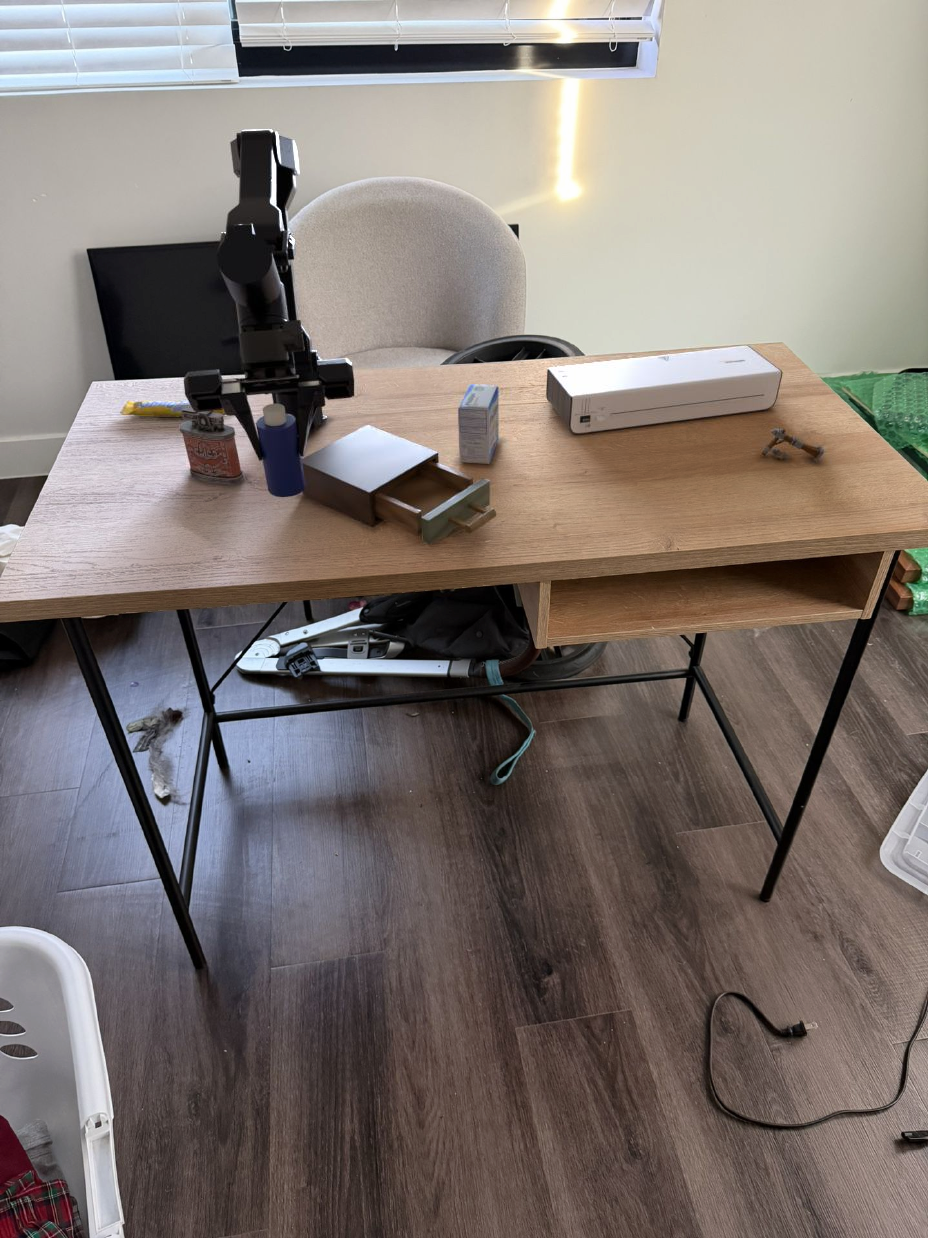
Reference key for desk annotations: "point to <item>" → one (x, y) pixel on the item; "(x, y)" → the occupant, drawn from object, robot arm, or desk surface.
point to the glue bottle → (280, 452)
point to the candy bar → (157, 408)
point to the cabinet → (360, 470)
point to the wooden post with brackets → (780, 434)
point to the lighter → (210, 447)
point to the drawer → (434, 502)
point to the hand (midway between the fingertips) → (280, 457)
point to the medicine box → (478, 423)
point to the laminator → (662, 389)
